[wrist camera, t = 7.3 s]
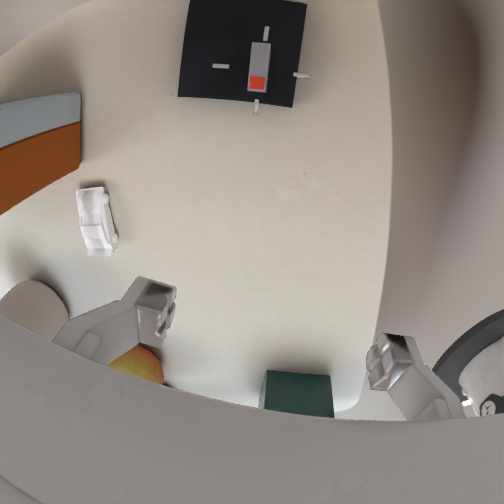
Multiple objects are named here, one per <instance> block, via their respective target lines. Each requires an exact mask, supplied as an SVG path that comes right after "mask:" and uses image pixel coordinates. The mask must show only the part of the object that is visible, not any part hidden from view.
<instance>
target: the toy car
mask: <svg viewBox="0 0 504 504" xmlns="http://www.w3.org/2000/svg"><path fill="white" fill-rule="evenodd" d="M76 197H77V198H76V204H77V206H78V210H79V216H80V229H81V233H82V236H83V239H84V241H85V243H86V246H87V256H113V253H114V251H115V250H116V249H117V248H118V247H117V240H118V235H117V234H116V233H115V229H114V225H113V221H112V216H111V212H110V208H109V204H108V201H109V196H108V194H106V193H104V187H94V188H89V189H77V190H76Z"/></svg>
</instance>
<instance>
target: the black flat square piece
mask: <svg viewBox="0 0 504 504" xmlns="http://www.w3.org/2000/svg"><path fill="white" fill-rule="evenodd" d="M306 8H307V4H305V3H299V2H293V1H286V0H190V3H189V9H188V15H187V22H186V29H185V36H184V43H183V51H182V59H181V68H180V78H179V88H178V97H197V98H213V99H226V100H237V101H246V102H255V103H254V111H253V115H257V113H258V106H259V103H263V104H270V105H277V106H284V107H290V108H292V105H293V98H294V92H295V85H296V78H297V77H300V78H306V79H310V75H307V74H301V73H297V72H298V65H299V58H300V51H301V44H302V37H303V30H304V22H305V15H306ZM252 42H259V43H270V44H271V48H272V53H271V62H270V71H269V81H268V90H267V93H266V92H256V91H247V86H248V76H249V66H250V57H251V47H252Z"/></svg>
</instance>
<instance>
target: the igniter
mask: <svg viewBox="0 0 504 504" xmlns="http://www.w3.org/2000/svg"><path fill="white" fill-rule="evenodd" d="M258 408H260V409H266V410H272V411H278V412H285V413H292V414H299V415H307V416H316V417H326V418H334V408H333V397H332V387H331V378H330V376H322V375H309V374H298V373H288V372H279V371H270V370H267V371H266V375H265V379H264V382H263V386H262V390H261V393H260V397H259V407H258Z"/></svg>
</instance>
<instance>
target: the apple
mask: <svg viewBox="0 0 504 504" xmlns="http://www.w3.org/2000/svg"><path fill="white" fill-rule="evenodd" d="M108 367H111V368H114V369H116V370H119V371H122V372H125V373H128V374H130V375H133V376H136V377H139V378H142V379H145V380H148V381H151V382H154V383H158V384H161V385H162V384H163V381H164V374H163V369H162V366H161V363H160V361H159V360H158V359H157V357H156V356H155V355H154V354H153V353H152V352H150V351H149V350H148V349H146V348H144V347H142V346H138V345H136V346H135V347H133V348H132V349H130V350H129V351H127V352H125V353H124V354H122V355H121V356H119V357H118V358H116V359H115V360H113V361H112V362H110V363H109V364H108Z"/></svg>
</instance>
